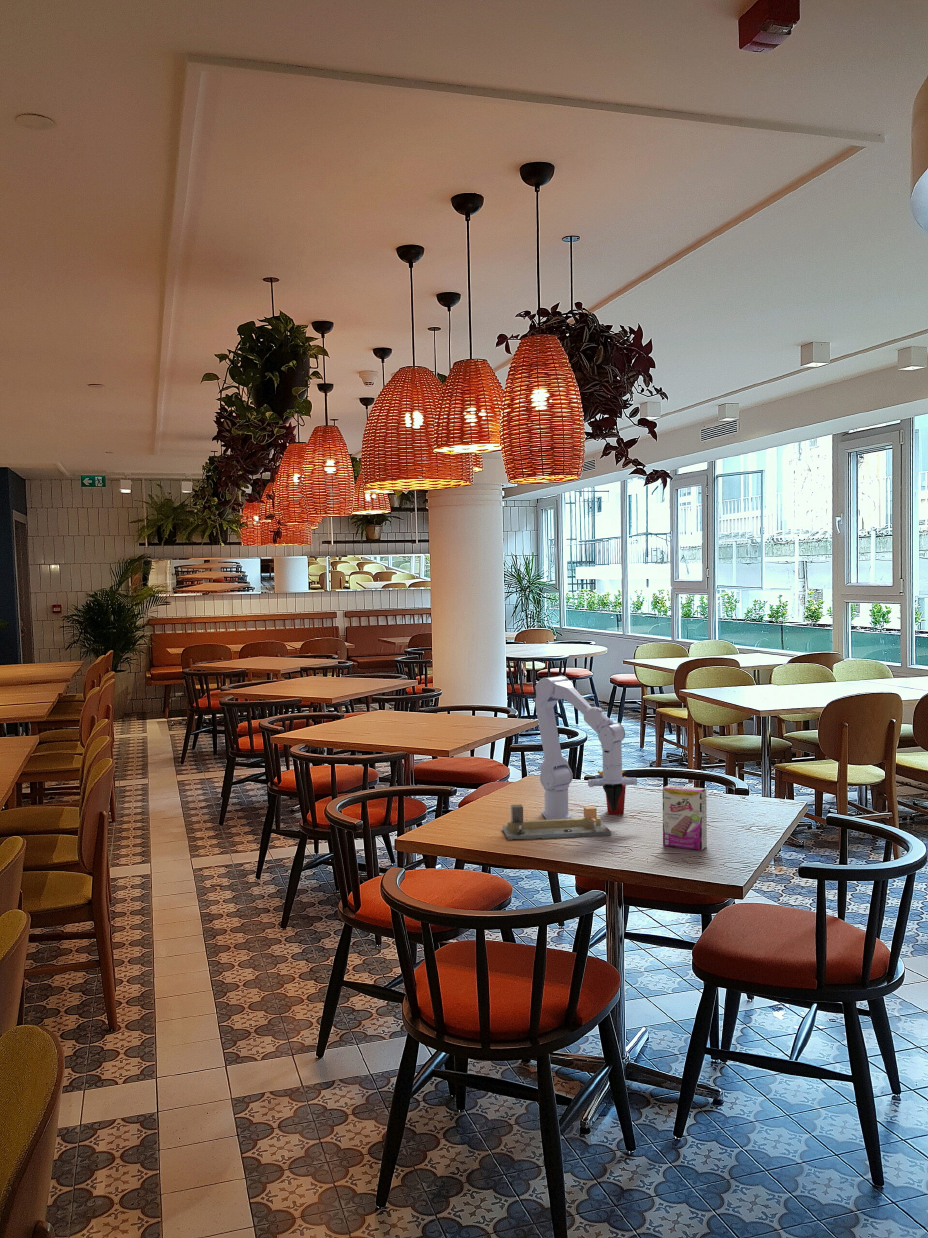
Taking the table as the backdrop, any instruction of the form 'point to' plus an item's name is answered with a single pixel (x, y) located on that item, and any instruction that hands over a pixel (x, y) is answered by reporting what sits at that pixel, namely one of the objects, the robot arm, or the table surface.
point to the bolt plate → (551, 827)
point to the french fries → (620, 802)
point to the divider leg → (590, 813)
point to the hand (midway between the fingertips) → (613, 809)
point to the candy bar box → (684, 817)
